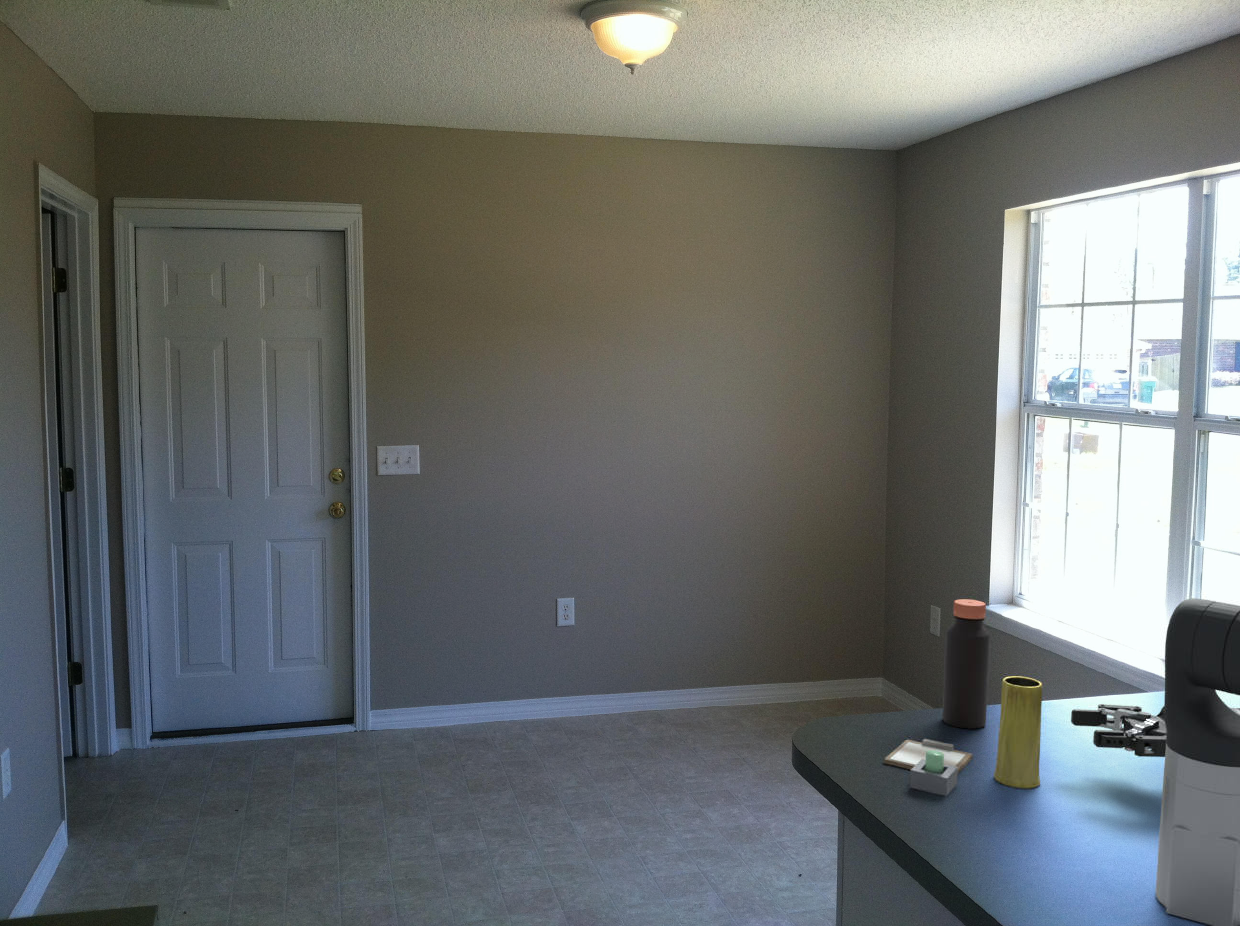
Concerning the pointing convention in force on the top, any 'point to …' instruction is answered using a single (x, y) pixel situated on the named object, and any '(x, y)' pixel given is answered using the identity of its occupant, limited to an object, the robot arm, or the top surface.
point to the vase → (1019, 733)
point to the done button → (934, 762)
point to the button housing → (933, 779)
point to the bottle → (966, 666)
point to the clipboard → (916, 751)
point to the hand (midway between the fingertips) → (1083, 727)
